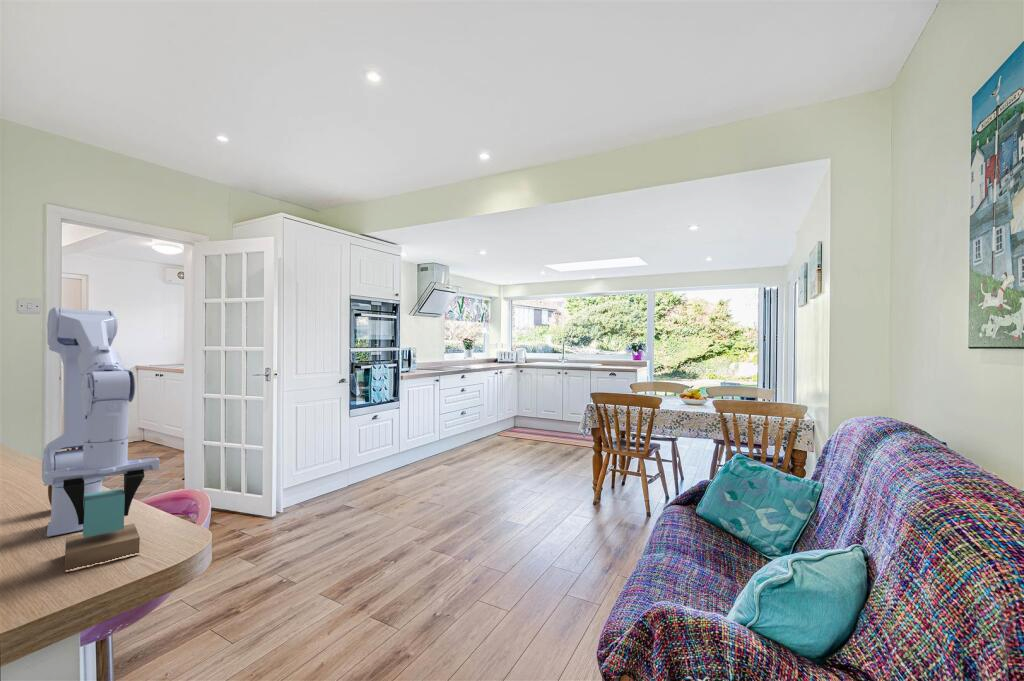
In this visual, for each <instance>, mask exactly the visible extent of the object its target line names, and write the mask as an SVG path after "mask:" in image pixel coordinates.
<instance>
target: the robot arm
mask: <svg viewBox="0 0 1024 681" xmlns="http://www.w3.org/2000/svg"><path fill="white" fill-rule="evenodd" d="M118 320H119V319H118V316H117V314H116V312H114V311H113V310H93V309H91V310H90V309H77V308H61V307H57V306H54V307H53V308H50V309H49V311H48V314H47V321H46V322H47V323H46V327H47V330H46V331H47V333H46V334H47V336H46V338H47V346H48V349H49V350H50V351H52V352H54V353H57V354H59V355H60V358H61V361H62V364H63V433H62V434H60V436H58V437H56V438H55V439H53V440H51V441H50V442H48V443H47V444H46V445H45V447H44V449H43V456H42V460H41V478H42V480H41V481H42V482H43V486H44V487H48V486H49V485H52V502H51V505H50V521H48V523H47V530H46V537H48V538H49V537H53V536H60V535H63V534H68V533H69V534H70V533H75V532H79V531H83V524H84V494H89V493H96V492H102V491H103V480H105V479H106V477H110V476H117V475H123V491H124V493H125V507H124V517H127V516H129V511H130V507H131V504H132V501H133V499H134V497H135V495H136V492H137V491H138V489H139V487H140V485H141V484H142V483H143V481H144V478H145V472H146V471H158V470H159V471H160V458H159V457H152V458H142V459H128V457H129V456H128V452H129V428H130V427H129V425H130V424H129V423H130V422H129V421H130V420H129V419H130V403H131V402H133V400H134V398H135V394H136V377H135V374H134V371H133V370H132V369H129V368H128V367H127V368H125V367H124V364H123V362H122V358H121V356H120V353H119V352H118V350H117V349H116V348H114V347H112V344H113V341H114V339H115V337H116V336H117V332H118V327H119V326H118V325H119V322H118ZM78 447H83V449H78ZM72 448H76V450H70V449H72ZM67 449H69V450H67ZM61 450H62V451H61Z"/></svg>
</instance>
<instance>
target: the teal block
mask: <svg viewBox="0 0 1024 681" xmlns="http://www.w3.org/2000/svg"><path fill="white" fill-rule="evenodd" d="M124 507H125V493H124V487H123V488H122V487H121V488H116V489H109V490H102V492H96V493H89V494H84V524H83V530H82V534H83V538H84V537H89V536H94V535H99V534H104V533H108V532H113V531H118V530H123V529H124V526H125V516H124Z"/></svg>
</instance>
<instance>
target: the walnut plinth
mask: <svg viewBox="0 0 1024 681" xmlns="http://www.w3.org/2000/svg"><path fill="white" fill-rule="evenodd" d="M140 540H141V539H140V535H139V532H138V530H137V527H136V524H135V523H130V524H124V529H123V530H118V531H113V532H108V533H104V534H99V535H94V536H89V537H84V538H83V533H80V534H77V535H71V536H67V537H65V547H64V548H65V550H64V551H65V552H64V571H65V570H70V569H74V568H77V567H82V566H87V565H92V564H95V563H100V562H105V561H108V560H112V559H115V558H119V557H122V556H126V555H130V554H135V553H139V554H140Z"/></svg>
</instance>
